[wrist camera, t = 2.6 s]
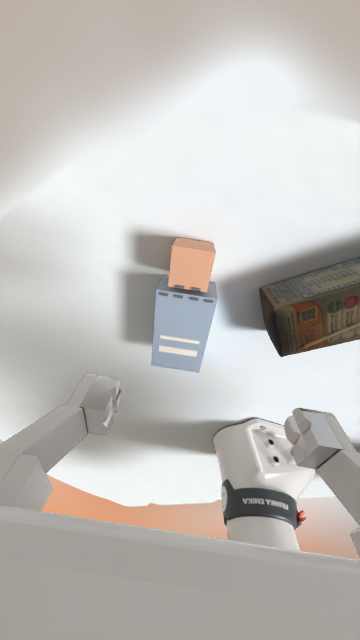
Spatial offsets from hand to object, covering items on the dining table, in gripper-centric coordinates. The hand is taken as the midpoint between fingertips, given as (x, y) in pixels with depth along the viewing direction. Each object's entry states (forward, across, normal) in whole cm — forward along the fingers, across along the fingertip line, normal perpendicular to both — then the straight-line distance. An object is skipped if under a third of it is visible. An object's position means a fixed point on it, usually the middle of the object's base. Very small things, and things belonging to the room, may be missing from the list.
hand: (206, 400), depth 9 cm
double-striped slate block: (+20, +1, +8) cm, 21 cm away
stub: (+20, +1, -1) cm, 20 cm away
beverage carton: (+20, -18, 0) cm, 27 cm away
